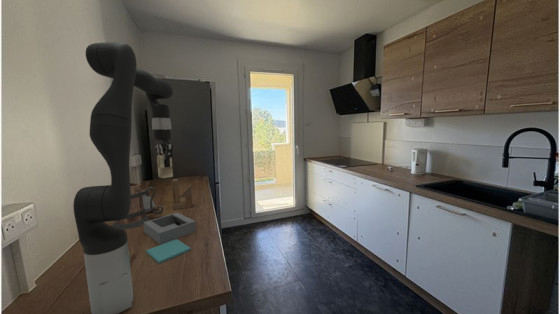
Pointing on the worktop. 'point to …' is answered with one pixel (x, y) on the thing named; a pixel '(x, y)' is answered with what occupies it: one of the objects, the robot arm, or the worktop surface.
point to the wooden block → (176, 197)
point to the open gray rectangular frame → (169, 227)
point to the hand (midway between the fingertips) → (165, 166)
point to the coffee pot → (147, 201)
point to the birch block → (162, 170)
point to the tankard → (136, 209)
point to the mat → (168, 250)
